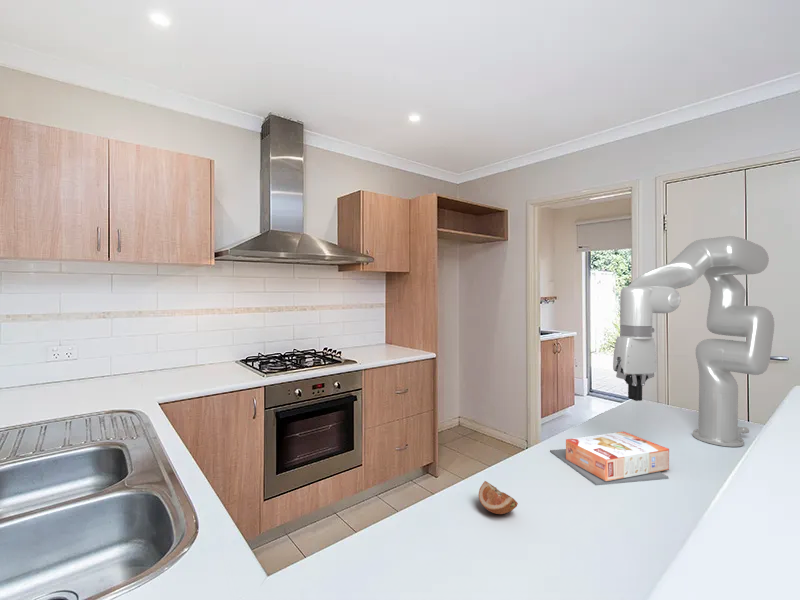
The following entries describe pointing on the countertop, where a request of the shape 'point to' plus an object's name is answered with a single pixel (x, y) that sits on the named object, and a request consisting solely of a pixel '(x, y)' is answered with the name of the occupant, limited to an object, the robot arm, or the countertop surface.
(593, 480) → the mat
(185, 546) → the countertop surface
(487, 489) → the fruit slice
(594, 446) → the cracker box
